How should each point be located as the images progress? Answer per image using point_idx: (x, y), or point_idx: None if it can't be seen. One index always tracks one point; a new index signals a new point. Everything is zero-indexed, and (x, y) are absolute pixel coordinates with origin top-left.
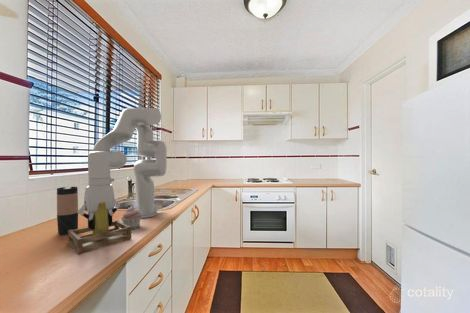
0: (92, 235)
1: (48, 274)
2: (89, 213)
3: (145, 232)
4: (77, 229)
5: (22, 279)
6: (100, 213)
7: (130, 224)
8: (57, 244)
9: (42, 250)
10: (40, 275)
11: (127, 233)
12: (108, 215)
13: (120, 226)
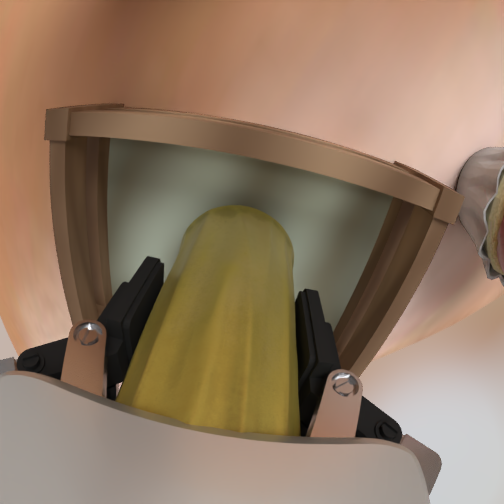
0: (183, 241)
1: (47, 338)
2: (79, 385)
3: (426, 324)
4: (97, 131)
5: (11, 309)
6: None
7: (472, 238)
8: (73, 70)
9: (22, 113)
10: (34, 327)
11: None
12: (300, 394)
13: (381, 295)
